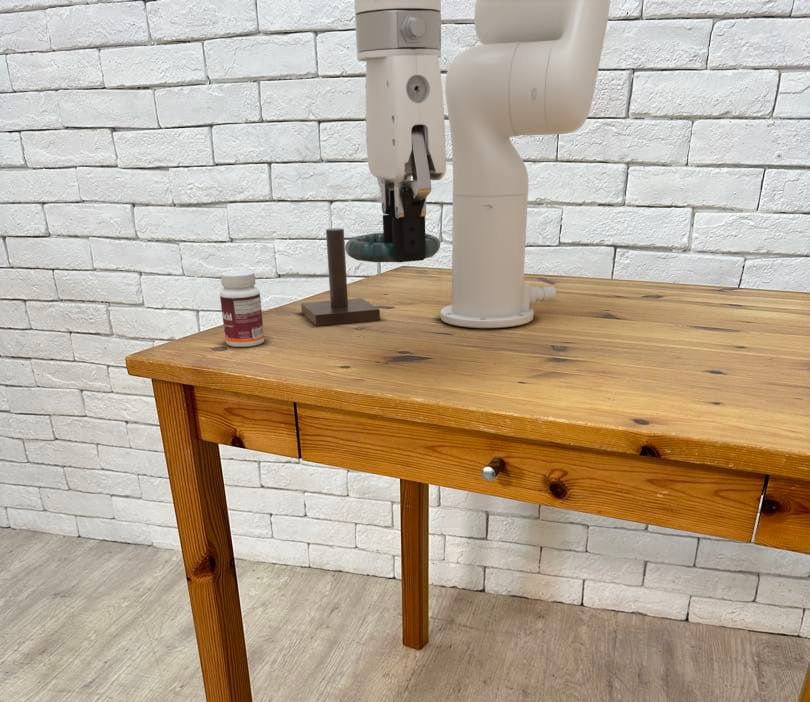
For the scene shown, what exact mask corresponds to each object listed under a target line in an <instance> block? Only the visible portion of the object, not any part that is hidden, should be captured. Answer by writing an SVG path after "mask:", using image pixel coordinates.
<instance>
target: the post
mask: <svg viewBox="0 0 810 702" xmlns="http://www.w3.org/2000/svg"><path fill="white" fill-rule="evenodd" d="M325 234H326V238H325V239H326V251H327V253H326V255H327V267H328V269H327V270H328V285H329V298H330V299H329V300H321V301H309V302H301V303H300V307H301V314H302V315H303V316H304V317H305V318H306V319H307V320H308V321H309V322H310V323H312V324H313V325H314V326H315V327H324V326H335V325H345V324H355V323H367V322H377V321H381V310H380V308H378V307H377V306H375V305H374V304H372V303H370V302H369V301H367V300H365V299H364V298H361V297H357V298H355V297H354V298H349V297H348V280H347V261H346V250H345V246H346V242H345V229H344V228H339V227H338V228H335V227H334V228H328V229H327V228H326V230H325Z"/></svg>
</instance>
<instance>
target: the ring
mask: <svg viewBox="0 0 810 702" xmlns="http://www.w3.org/2000/svg"><path fill="white" fill-rule="evenodd" d="M425 241H426V257H425V259H429V258H433V257H434V256H436V254H437V253H438V252H439V251H440V249H441V241H440V239H439V238H438V237H437V236H435V235H432V234H429V233H426V232H425ZM345 254H347V256H348V257H350V258H352V259H354V260H356V261H358V262H359V261H361V262H369V263H397V262H396V261H394V259H393V243H384V237H383V232H377V233H374V232H373V233H366V234H361V235H357V236H354V237H352V238H350V239H349V240H348V241H347V242H345Z"/></svg>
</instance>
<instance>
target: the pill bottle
mask: <svg viewBox="0 0 810 702" xmlns="http://www.w3.org/2000/svg"><path fill="white" fill-rule="evenodd" d="M220 283H221V286H222V287H223V288H222V289H221V290H220V292H219V301H220V307H221V315H222V323H223V329H224V338H225V343H226V345H228V346H230V347H234V348H248V347H255V346H256V347H257V346H259V345H261V344H263V343H264V342H265V332H264V322H263V321H264V320H263V313H262V302H261V301H262V299H261V293H260V290H259V288H257V287H256V286H255V285H256V276H255V271H253V270H248V269H234V270H226V271H222V272H220Z"/></svg>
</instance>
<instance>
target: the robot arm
mask: <svg viewBox="0 0 810 702" xmlns="http://www.w3.org/2000/svg"><path fill="white" fill-rule="evenodd" d="M441 1H442V0H354V15H355V16H354V23H355V41H356V45H355V46H356V60H357V61H359V62H365V86H364V87H365V138H366V152H367V153H366V154H367V165H368V169H369V172H370V174H371V175H372V176H373V177H375V178H376V179H377V184H378V186H379V188H380V194H381V195H380V198H381V199H380V200H381V201H380V202H381V212H382V233H383V237H384V243H393V259H394V261H396V262H395V263H407V262H408V263H410V262H421V261H424V260H426V258H425V257H426V241H425V233H426V216H427V198H428V196H429V195H430V194H431V192H432V182H431V181H440V180H442V179H443V178H444V176H445V175H446V172H447V150H446V149H447V147H446V126H445V125H446V124H445V107H444V105H445V104H444V92H445V102H446V109H447V116H448V124H449V131H450V141H451V155H452V156H451V157H452V220H451V221H452V222H451V224H452V225H451V226H452V229H451V230H452V233H451V234H452V236H451V237H452V238H451V240H452V243H451V245H452V246H451V304H450V305H446V306H444V307H443V308H441V310H440V314H439V317H440V320H441V321H442V322H444V323H446V324H448V325H451V326H455V327H462V328H471V329H472V328H473V329H501V328H502V329H503V328H511V327H517V326H522V325H525V324H526V325H527V324H528V323H530V322H531V321H533V320H534V313H535V311H534V309H532V308H531V307H530V306H533V305H534V304H535V303H536V302H541V303H543V302H553V301H555V299H556V297H557V290H556V287H555V286H553V285H548V286H540V287H538V286H537V285H531V283H527V282H524V281H525V280H524V279H525V278H524V277H525V263H526V262H525V261H526V241H527V240H526V238H527V221H528V219H527V218H528V200H529V199H528V198H529V174H528V170H527V167H526V164H525V162H524V159H522V157H521V155H520V154H519V152H518V151H517V149H516V147H515V146H514V144H513V143H512V140H511V138H512V137H520V136H545V135H546V136H551V135H554V136H555V135H567V134H570V133H571V134H572V133H574V132H576V131H578V130H580V128H582V126H583V125H584V124H585V123H586V121H587V119H588V117H589V114H590V112H591V108H592V104H593V99H594V95H595V89H596V86H597V79H598V74H599V69H600V63H601V58H602V53H603V48H604V44H605V43H604V42H605V37H606V33H607V32H606V31H607V28H608V27H607V26H608V21H609V14H610V7H611V0H475V5H474V16H473V17H474V19H473V21H474V22H473V24H474V31H475V34H476V36H477V39H478V40H479V42H480V43H481V44H479V45H475V46H472V47H469V48H466V49H465V50H463V51H461V52H460V53H458V54H457V55H456V56H455V57H454V58H453V59H452V61H451V62H450V64H449V65H448V69H447V70H446V71H447V72H446V77H445V82H444V84H445V90H444V92H443V83H442V82H443V81H442V74H441V67H440V66H441V65H440V60H439V59H441V58H442V13H441V12H442V2H441Z"/></svg>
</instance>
